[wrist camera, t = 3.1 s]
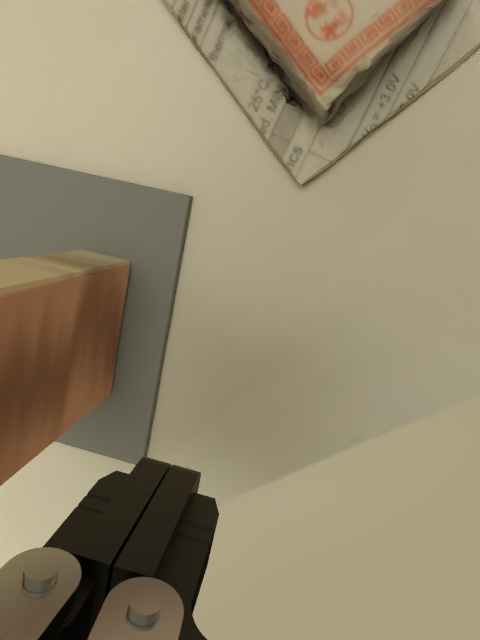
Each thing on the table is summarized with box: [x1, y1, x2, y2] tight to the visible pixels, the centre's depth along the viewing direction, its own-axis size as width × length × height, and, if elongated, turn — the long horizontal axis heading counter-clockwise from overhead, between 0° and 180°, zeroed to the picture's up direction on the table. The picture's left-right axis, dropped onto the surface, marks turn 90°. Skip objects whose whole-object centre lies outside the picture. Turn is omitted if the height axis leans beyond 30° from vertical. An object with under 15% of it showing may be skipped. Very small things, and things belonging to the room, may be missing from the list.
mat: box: [0, 155, 192, 465], centre depth 24 cm, size 14×18×1 cm
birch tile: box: [0, 250, 130, 486], centre depth 18 cm, size 7×2×10 cm, turn 168°
